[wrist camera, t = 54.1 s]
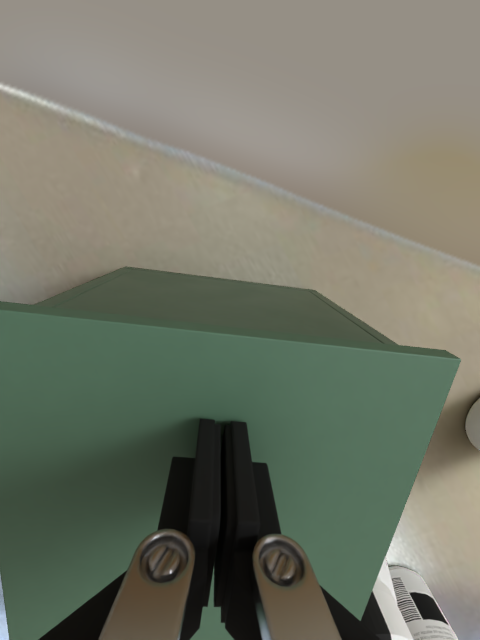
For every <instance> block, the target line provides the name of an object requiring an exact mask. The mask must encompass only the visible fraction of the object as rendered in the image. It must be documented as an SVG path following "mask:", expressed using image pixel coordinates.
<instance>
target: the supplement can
mask: <svg viewBox="0 0 480 640" xmlns="http://www.w3.org/2000/svg"><path fill="white" fill-rule="evenodd" d="M389 571H390V575H391V579H392V583H393V587H394V591H395V595H396V599H397V603H398V604H397V606H398V608H399V610H400V612H401V614H402V616H403V618H404V620H405V623H406V625H407V627H408V629H409V631H410V633H411V635H412V637H413V640H458V638H457V636H456V635H455V633H454V631H453V629H452V628H451V626H450V624H449V623H448V621H447V619H446V617H445V616H444V614H443V612H442V611H441V609H440V607H439V605H438V604H437V602H436V600H435V598H434V597H433V595H432V593H431V592H430V590H429V588H428V586H427V585H426V583H425V581H424V580H423V578H422V576H421V575H419V574H417V573H416V572H414V571H412V570H409V569H408V568H405V567H400V566H391V567H389Z"/></svg>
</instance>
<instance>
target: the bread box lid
mask: <svg viewBox="0 0 480 640" xmlns="http://www.w3.org/2000/svg"><path fill="white" fill-rule="evenodd" d="M460 362H461V359H460V358H458V357H456V356H454V355H453V354H451V353H449V352H447V351H446V350H438V349H429V348H420V347H410V346H401V345H392V344H383V343H374V342H365V341H356V340H347V339H338V338H329V337H319V336H310V335H301V334H292V333H283V332H274V331H265V330H256V329H247V328H237V327H228V326H219V325H210V324H201V323H192V322H183V321H174V320H165V319H156V318H146V317H137V316H128V315H119V314H110V313H101V312H92V311H83V310H74V309H64V308H55V307H46V306H37V305H28V304H19V303H10V302H1V301H0V573H1V581H2V588H3V596H4V603H5V610H6V618H7V625H8V633H9V640H38V639H40V638H41V637H42V636H43V635H45V634H46V633H47V632H48V631H50V630H51V629H52V628H54V627H55V626H56V625H57V624H59V623H60V622H61V621H63V620H64V619H65V618H66V617H68V616H69V615H70V614H72V613H73V612H74V611H75V610H77V609H78V608H79V607H80V606H82V605H83V604H84V603H86V602H87V601H88V600H89V599H91V598H92V597H93V596H95V595H96V594H97V593H98V592H100V591H101V590H102V589H103V588H105V587H106V586H107V585H109V584H110V583H111V582H112V581H114V580H115V579H116V578H118V577H119V576H120V575H121V574H123V573H124V572H125V571H127V569H128V567H129V565H130V562H131V560H132V557H133V555H134V553H135V551H136V549H137V547H138V546H139V544H140V542H141V541H142V540H143V539H144V538H146V537H147V536H148V535H150V534H151V533H153V532H155V531H157V529H158V524H159V520H160V515H161V510H162V505H163V500H164V495H165V491H166V486H167V481H168V476H169V471H170V466H171V462H172V458H173V457H187V458H195V456H196V447H197V438H198V429H199V421H200V418H201V419H213V420H215V424H220V439H221V448H222V441H223V433H224V427H225V425H230V423H231V421H238V422H246V423H247V429H248V436H249V444H250V451H251V458H252V462H261V463H266V464H267V466H268V469H269V474H270V479H271V484H272V489H273V494H274V499H275V504H276V509H277V514H278V519H279V524H280V529H281V534H282V535H285V536H288V537H290V538H291V539H293V540H294V541H296V542H297V543H298V544H299V545H300V546H301V547H302V548H303V549H304V551H305V553H306V555H307V556H308V558H309V561H310V563H311V566H312V568H313V571H314V573H315V575H316V578H317V580H318V583H319V585H320V586H321V587H322V588H324V589H325V590H326V591H327V592H328V593H329V594H330V595H331V596H333V597H334V598H335V599H336V600H337V601H338V602H339V603H340V604H342V605H343V606H344V607H345V608H346V609H347V610H348V611H349V612H351V613H352V614H353V615H354V616H355V617H356V618H357V619H358V620H360V621H361V618H362V616H363V613H364V611H365V608H366V605H367V603H368V600H369V598H370V595H371V592H372V590H373V587H374V585H375V582H376V579H377V577H378V574H379V572H380V569H381V567H382V564H383V561H384V559H385V556H386V554H387V551H388V548H389V546H390V543H391V541H392V538H393V535H394V533H395V530H396V528H397V525H398V522H399V520H400V517H401V515H402V512H403V509H404V507H405V504H406V502H407V499H408V497H409V494H410V491H411V489H412V486H413V484H414V481H415V478H416V476H417V473H418V471H419V468H420V465H421V463H422V460H423V458H424V455H425V452H426V450H427V447H428V445H429V442H430V439H431V437H432V434H433V432H434V429H435V427H436V424H437V421H438V419H439V416H440V414H441V411H442V408H443V406H444V403H445V401H446V398H447V395H448V393H449V390H450V388H451V385H452V382H453V380H454V377H455V375H456V372H457V369H458V367H459V364H460ZM190 640H234V639H233V638H232V637H231V635H230V634H229V633H228V632H227V630H226V629H225V623H221V607H214V569H213V575H212V582H211V589H210V595H209V602H208V607H203V609H202V616H201V623H200V628H199V630H198V631H197V632H196V633H195V634H194V635H193V636H192V638H191V639H190Z"/></svg>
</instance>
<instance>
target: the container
mask: <svg viewBox="0 0 480 640" xmlns="http://www.w3.org/2000/svg"><path fill="white" fill-rule="evenodd" d="M397 604H398V603H397V599H396V595H395V591H394V587H393V583H392V579H391V575H390V571H389V567H388V563H387V560H386V556H385V559H384V561H383V564H382V567H381V569H380V572H379V574H378V577H377V579H376V582H375V585H374V587H373V590H372V592H371V595H370V598H369V600H368V603H367V605H366V608H365V611H364V613H363V616H362V618H361V622H362V623H363V624H364V625H365V626H366V627H367V628H369V629H370V630H371V631H372V632H373V633H374V634H375V635H376V636H378V637H379V638H380V639H381V640H413V637H412V635H411V633H410V631H409V629H408V627H407V625H406V623H405V620H404V618H403V616H402V614H401V612H400V610H399V608H398V606H397Z"/></svg>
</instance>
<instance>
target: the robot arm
mask: <svg viewBox="0 0 480 640" xmlns="http://www.w3.org/2000/svg"><path fill="white" fill-rule="evenodd" d="M213 569H214V607H221V623H225V629H226V630H227V632H228V633H229V634H230V635H231V637H232V638H233V639H234V640H381V639H380V638H379V637H378V636H376V635H375V634H374V633H373V632H372V631H371V630H370V629H369V628H367V627H366V626H365V625H364V624H363V623H362V622H361V621H360V620H358V619H357V618H356V617H355V616H354V615H353V614H352V613H351V612H349V611H348V610H347V609H346V608H345V607H344V606H343V605H342V604H340V603H339V602H338V601H337V600H336V599H335V598H334V597H333V596H331V595H330V594H329V593H328V592H327V591H326V590H325V589H324V588H322V587H321V586H320V585H319V583H318V580H317V578H316V575H315V573H314V571H313V568H312V566H311V563H310V561H309V558H308V556H307V555H306V553H305V551H304V549H303V548H302V547H301V546H300V545H299V544H298V543H297V542H296V541H294V540H293V539H291V538H290V537H288V536H285V535H282V534H281V529H280V524H279V519H278V514H277V509H276V504H275V499H274V494H273V489H272V484H271V479H270V474H269V469H268V466H267V464H266V463H261V462H252V458H251V451H250V444H249V436H248V429H247V423H246V422H238V421H231V423H230V425H225V427H224V433H223V441H222V448H221V439H220V424H215V420H213V419H201V418H200V421H199V429H198V438H197V447H196V456H195V458H187V457H173V458H172V462H171V466H170V471H169V476H168V481H167V486H166V491H165V495H164V500H163V505H162V510H161V515H160V520H159V524H158V529H157V531H155V532H153V533H151V534H150V535H148V536H147V537H146V538H144V539H143V540H142V541H141V542H140V544H139V546H138V547H137V549H136V551H135V553H134V555H133V557H132V560H131V562H130V565H129V567H128V569H127V571H125V572H124V573H123V574H121V575H120V576H119V577H118V578H116V579H115V580H114V581H112V582H111V583H110V584H109V585H107V586H106V587H105V588H103V589H102V590H101V591H100V592H98V593H97V594H96V595H95V596H93V597H92V598H91V599H89V600H88V601H87V602H86V603H84V604H83V605H82V606H80V607H79V608H78V609H77V610H75V611H74V612H73V613H72V614H70V615H69V616H68V617H66V618H65V619H64V620H63V621H61V622H60V623H59V624H57V625H56V626H55V627H54V628H52V629H51V630H50V631H48V632H47V633H46V634H45V635H43V636H42V637H41V638H40V639H38V640H190V639H191V638H192V636H193V635H194V634H195V633H196V632H197V631H198V630H199V628H200V623H201V616H202V609H203V607H208V602H209V595H210V589H211V582H212V575H213Z"/></svg>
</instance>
